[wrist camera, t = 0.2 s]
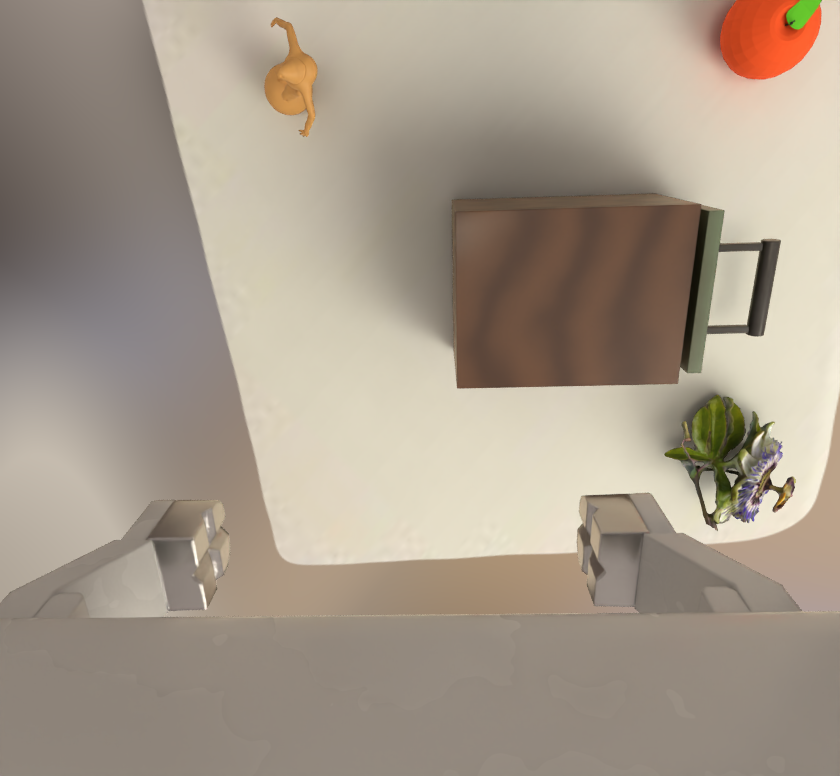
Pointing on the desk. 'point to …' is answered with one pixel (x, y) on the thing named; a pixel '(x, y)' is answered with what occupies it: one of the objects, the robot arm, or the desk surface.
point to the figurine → (292, 80)
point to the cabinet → (571, 289)
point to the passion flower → (732, 460)
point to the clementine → (768, 35)
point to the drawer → (704, 284)
